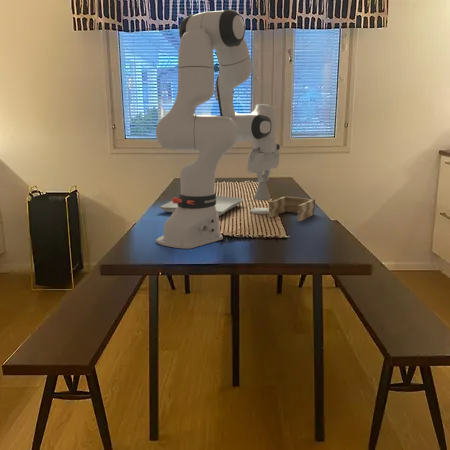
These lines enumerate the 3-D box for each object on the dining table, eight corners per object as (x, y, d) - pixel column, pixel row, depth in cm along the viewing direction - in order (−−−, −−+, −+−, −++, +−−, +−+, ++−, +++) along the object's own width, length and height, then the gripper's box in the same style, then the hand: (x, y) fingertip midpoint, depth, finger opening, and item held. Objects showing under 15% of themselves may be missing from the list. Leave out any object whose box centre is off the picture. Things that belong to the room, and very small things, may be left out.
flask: (269, 201, 184) (270, 176, 181) (251, 200, 185) (252, 175, 183) (272, 197, 190) (273, 173, 188) (255, 197, 192) (255, 173, 190)
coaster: (267, 215, 182) (267, 214, 182) (245, 212, 187) (245, 211, 187) (279, 210, 190) (279, 209, 190) (257, 208, 195) (257, 206, 195)
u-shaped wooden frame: (299, 221, 173) (300, 205, 171) (268, 217, 180) (269, 202, 178) (314, 214, 184) (314, 199, 183) (284, 210, 191) (285, 196, 190)
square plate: (188, 201, 211) (187, 193, 210) (245, 206, 201) (245, 197, 200) (159, 214, 186) (158, 205, 185) (222, 220, 177) (222, 210, 176)
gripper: (258, 149, 172) (257, 186, 176) (282, 145, 189) (281, 178, 192) (243, 148, 175) (243, 184, 179) (268, 144, 192) (267, 177, 196)
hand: (263, 181), depth 186 cm, fingers closed on flask, 3 cm apart
